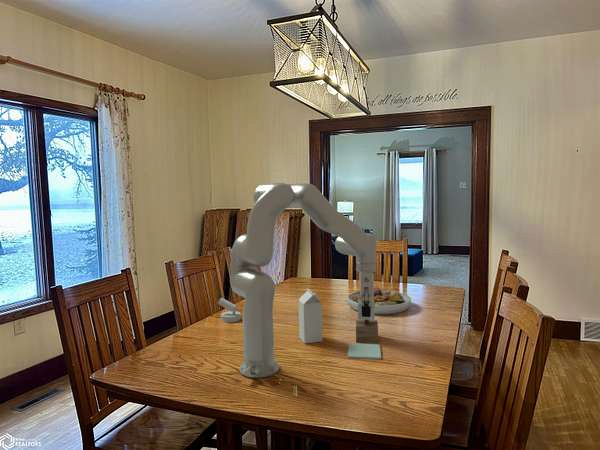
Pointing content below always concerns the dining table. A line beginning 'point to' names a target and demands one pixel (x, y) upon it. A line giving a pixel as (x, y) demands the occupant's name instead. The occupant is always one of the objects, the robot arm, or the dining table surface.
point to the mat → (364, 351)
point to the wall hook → (232, 314)
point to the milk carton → (310, 318)
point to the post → (367, 331)
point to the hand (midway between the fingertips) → (366, 313)
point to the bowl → (383, 301)
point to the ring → (360, 304)
